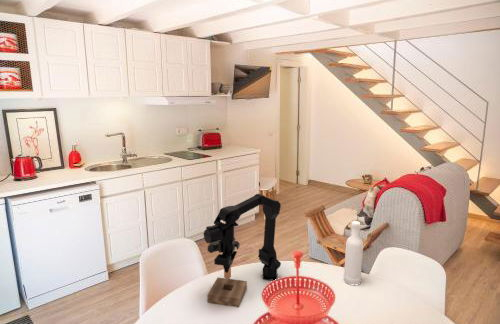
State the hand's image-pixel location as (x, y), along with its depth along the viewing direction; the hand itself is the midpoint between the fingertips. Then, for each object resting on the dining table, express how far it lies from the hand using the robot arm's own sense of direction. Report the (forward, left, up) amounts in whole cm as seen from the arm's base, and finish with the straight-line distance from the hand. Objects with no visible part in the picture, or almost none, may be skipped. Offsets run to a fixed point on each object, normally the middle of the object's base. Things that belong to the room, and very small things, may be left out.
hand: (227, 270), depth 145 cm
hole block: (0, 0, -12) cm, 12 cm away
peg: (0, 0, -3) cm, 3 cm away
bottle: (-55, -25, -12) cm, 62 cm away
